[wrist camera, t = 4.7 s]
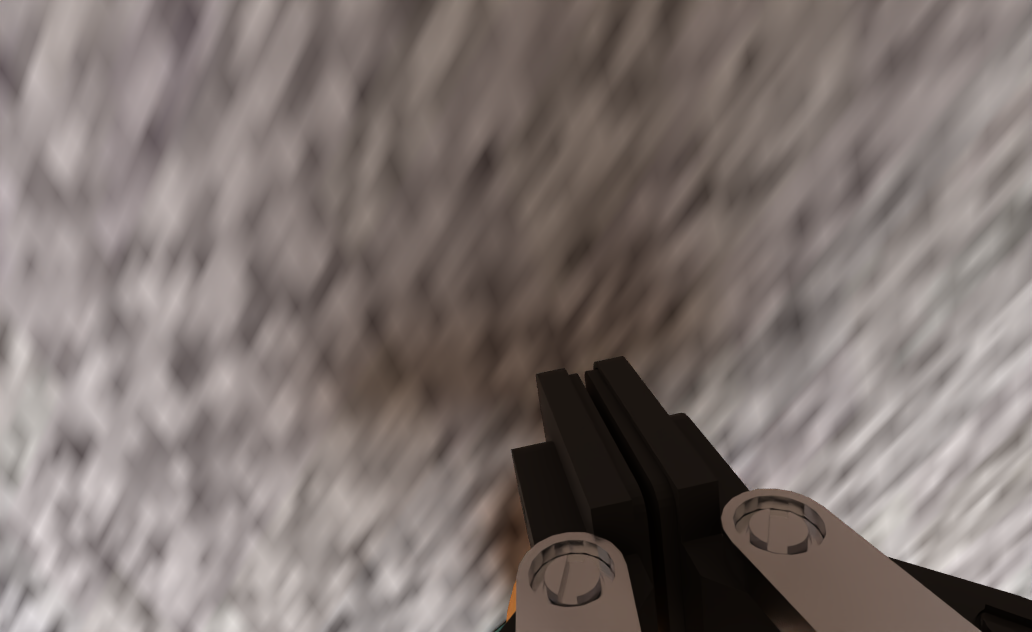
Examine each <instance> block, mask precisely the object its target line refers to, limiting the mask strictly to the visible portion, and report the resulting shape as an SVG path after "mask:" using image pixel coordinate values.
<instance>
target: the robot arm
mask: <svg viewBox="0 0 1032 632" xmlns="http://www.w3.org/2000/svg"><path fill="white" fill-rule="evenodd" d="M593 369H594V370H590V371H586V372H585V383H586V388H585V386H584V385H583V383H582V381H581V379H580V377H579V375H578V374H577V373H576V374H571V375H568V373H567V371H566V370H565V368H563V369H558V370H553V371H548V372H544V373H539V374H536V382H537V388H538V394H539V400H540V407H541V413H542V419H543V425H544V431H545V437H546V442H544V443H539V444H534V445H530V446H525V447H521V448H516V449H511V451H512V457H513V463H514V468H515V473H516V479H517V484H518V489H519V494H520V499H521V504H522V509H523V514H524V518H525V523H526V528H527V532H528V537H529V541H530V545H531V549H530V550H529V551H528V552H527V553H526V554H525V556H524V557H523V559H522V561H521V562H520V564H519V567H518V572H517V577H516V611H515V612H514V614H513V615H512V616H511V617H510V619H509V620H508V621H507V622H506V623H505V625H504V626H503V627H502V628H501V630H500V631H499V632H1032V600H1029V599H1026V598H1024V597H1021V596H1018V595H1015V594H1011V593H1008V592H1005V591H1001V590H998V589H995V588H991V587H988V586H984V585H981V584H978V583H974V582H971V581H968V580H964V579H961V578H957V577H954V576H951V575H947V574H944V573H941V572H937V571H934V570H930V569H927V568H924V567H920V566H917V565H914V564H910V563H907V562H904V561H900V560H897V559H893V558H890V557H887V556H886V555H884V554H883V553H882V552H880V551H879V550H878V549H877V548H875V547H874V546H873V545H872V544H870V543H869V542H868V541H867V540H865V539H864V538H863V537H862V536H860V535H859V534H858V533H856V532H855V531H854V530H853V529H851V528H850V527H849V526H848V525H846V524H845V523H844V522H843V521H841V520H840V519H839V518H838V517H836V516H835V515H834V514H832V513H831V512H830V511H829V510H827V509H826V508H825V507H824V506H822V505H820V504H819V503H817V502H816V501H814V500H812V499H811V498H809V497H806V496H804V495H801V494H798V493H795V492H792V491H787V490H781V489H756V490H751V491H749V490H748V488H747V487H746V486H745V485H744V483H743V482H742V481H741V480H740V479H739V477H738V476H737V475H736V474H735V473H734V471H733V470H732V469H731V468H730V466H729V465H728V464H727V463H726V462H725V460H724V459H723V458H722V457H721V456H720V454H719V453H718V452H717V451H716V449H715V448H714V447H713V446H712V445H711V443H710V442H709V441H708V440H707V439H706V437H705V436H704V435H703V434H702V432H701V431H700V430H699V429H698V428H697V426H696V425H695V424H694V423H693V422H692V420H691V419H690V418H689V417H688V416H687V415H686V414H685V413H678V414H674V415H668V414H667V412H666V411H665V410H664V408H663V407H662V406H661V404H660V403H659V402H658V400H657V399H656V398H655V397H654V395H653V394H652V393H651V391H650V390H649V389H648V387H647V386H646V385H645V383H644V382H643V381H642V380H641V378H640V377H639V376H638V374H637V373H636V372H635V370H634V369H633V368H632V366H631V365H630V364H629V363H628V361H627V360H626V359H625V357H623V356H621V357H616V358H611V359H607V360H602V361H597V362H594V366H593Z"/></svg>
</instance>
